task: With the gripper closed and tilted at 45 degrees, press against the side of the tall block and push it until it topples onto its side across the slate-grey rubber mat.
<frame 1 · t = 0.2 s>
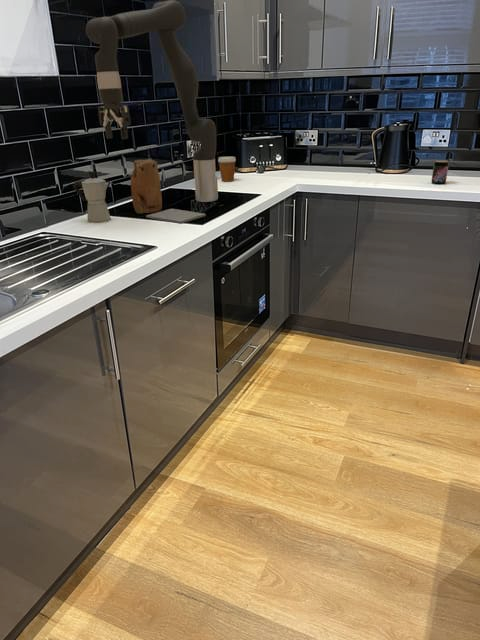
hand: (117, 138, 169), 29 cm above the countertop, tool pointing down, fingers open, 8 cm apart
supplement container: (438, 183, 236), on the countertop
coffee maker: (96, 220, 184), on the countertop
block: (148, 212, 194), on the countertop
mat: (176, 216, 186), on the countertop
disposable coffee cup: (227, 181, 257), on the countertop
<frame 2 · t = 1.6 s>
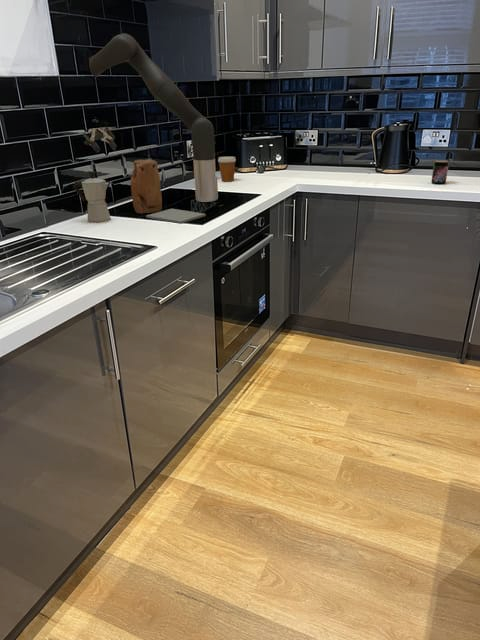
hand: (107, 149, 195), 23 cm above the countertop, tool tilted 45°, fingers open, 8 cm apart
nothing on the countertop moved.
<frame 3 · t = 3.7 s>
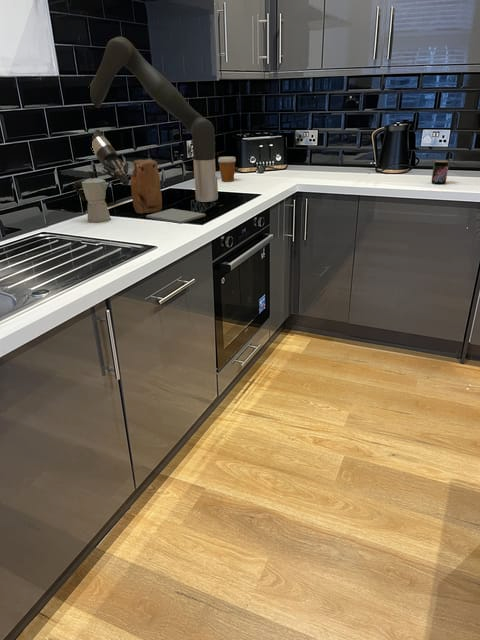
hand: (127, 183, 196), 10 cm above the countertop, tool tilted 45°, fingers closed
nothing on the countertop moved.
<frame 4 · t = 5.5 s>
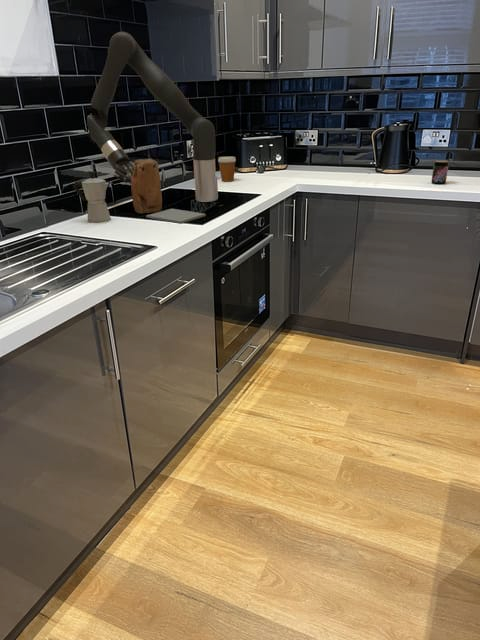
hand: (139, 188, 193), 9 cm above the countertop, tool tilted 45°, fingers closed
block: (148, 212, 194), on the countertop, touching gripper
everything else where it was.
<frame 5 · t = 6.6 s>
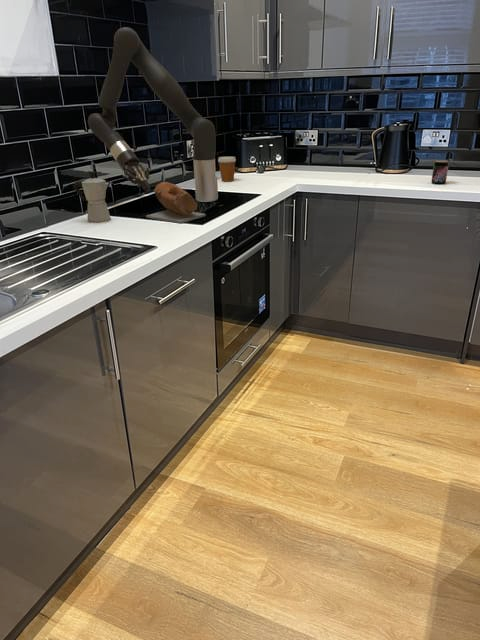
hand: (148, 189, 190), 9 cm above the countertop, tool tilted 45°, fingers closed
block: (164, 194, 192), point 7 cm above the countertop, touching mat
everything else where it was.
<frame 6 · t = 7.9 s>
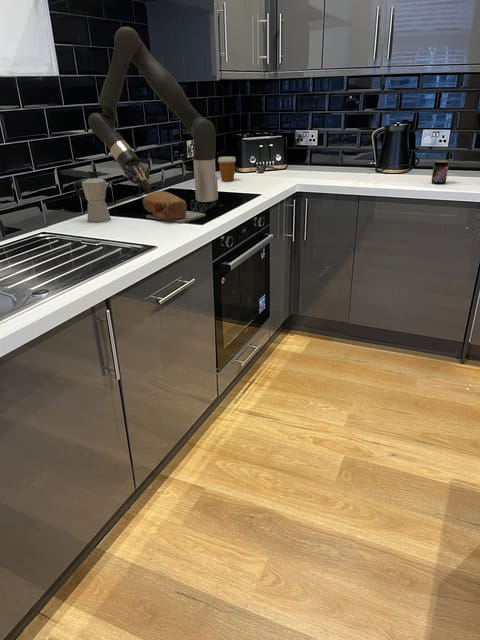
hand: (149, 189, 190), 9 cm above the countertop, tool tilted 45°, fingers closed
block: (154, 200, 191), point 5 cm above the countertop, touching mat
everything else where it was.
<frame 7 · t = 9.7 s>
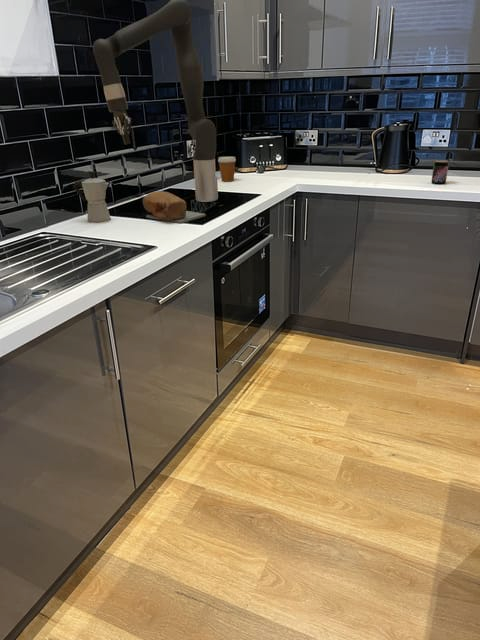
hand: (127, 143, 196), 25 cm above the countertop, tool pointing down, fingers closed
nothing on the countertop moved.
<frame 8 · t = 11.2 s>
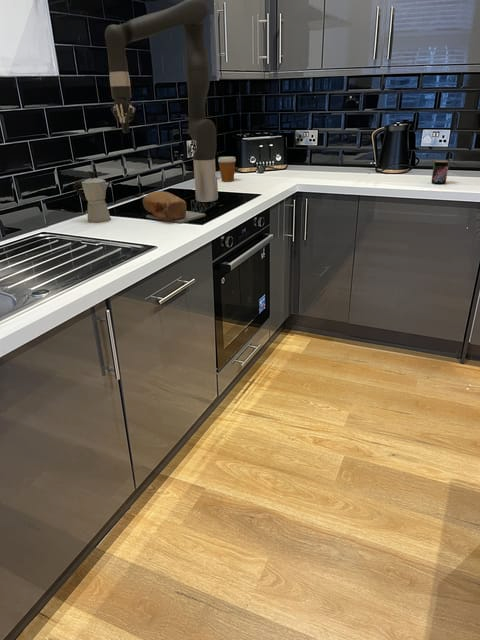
hand: (126, 132, 195), 29 cm above the countertop, tool pointing down, fingers closed
nothing on the countertop moved.
at the end: block tilted 92°; block inside the target area (4.0 cm from its centre), point 4.8 cm above the countertop; block touching mat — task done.
